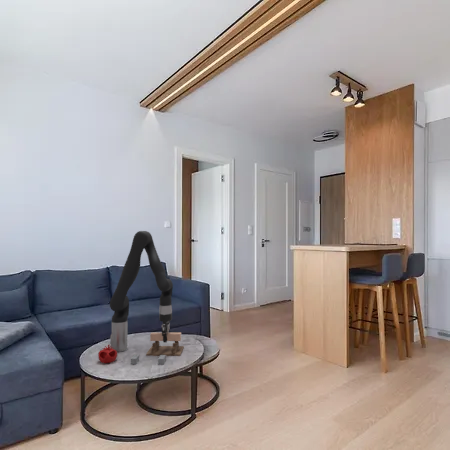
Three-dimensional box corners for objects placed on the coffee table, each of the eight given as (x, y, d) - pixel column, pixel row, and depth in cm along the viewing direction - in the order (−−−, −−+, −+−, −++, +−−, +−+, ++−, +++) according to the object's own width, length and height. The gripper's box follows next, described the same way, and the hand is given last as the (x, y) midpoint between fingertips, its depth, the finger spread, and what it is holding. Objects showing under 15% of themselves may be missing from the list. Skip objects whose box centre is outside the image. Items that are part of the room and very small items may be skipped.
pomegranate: (99, 359, 192) (99, 342, 192) (117, 357, 194) (117, 341, 194) (97, 365, 182) (97, 348, 182) (116, 363, 184) (116, 346, 185)
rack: (145, 355, 196) (146, 345, 197) (151, 347, 210) (151, 337, 211) (180, 355, 196) (180, 345, 196) (183, 347, 210) (183, 338, 210)
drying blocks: (130, 364, 184) (130, 358, 184) (133, 360, 190) (133, 354, 190) (163, 364, 183) (163, 359, 183) (165, 360, 189) (165, 355, 189)
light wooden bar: (150, 340, 202) (150, 334, 202) (151, 339, 205) (151, 332, 205) (180, 340, 201) (180, 334, 201) (181, 339, 205) (181, 332, 205)
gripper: (161, 309, 211) (162, 337, 210) (156, 315, 197) (156, 345, 196) (173, 309, 211) (174, 337, 210) (169, 315, 197) (169, 345, 196)
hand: (165, 341), depth 203 cm, fingers closed on light wooden bar, 3 cm apart
